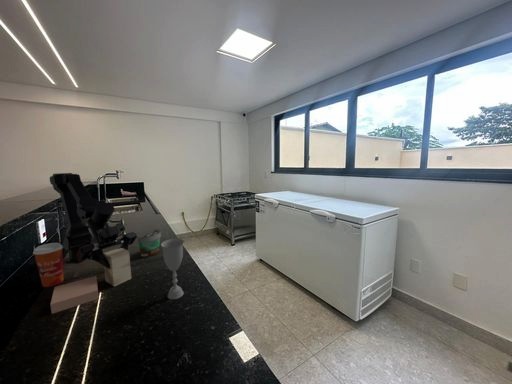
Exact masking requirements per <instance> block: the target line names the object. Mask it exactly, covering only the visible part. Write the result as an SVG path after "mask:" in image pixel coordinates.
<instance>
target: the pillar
mask: <svg viewBox="0 0 512 384" xmlns="http://www.w3.org/2000/svg"><path fill="white" fill-rule="evenodd" d="M103 254H104V256H105V257H106V259H107V261H108V262H109V264H110V268H109V269H108V268H106V267H105V266H103V268H104V277H105V278H104V279H105V282H106V283H107V284H110V286H113V287H116V286H119V285H121V284H122V283H125V282H127V281H129V280H131V279H132V270H131V260H130V259H131V257H130V250H129V249H128V250H125V249H123V248H120V247H118V248H115V249H111V250H109V251H105V252H103Z"/></svg>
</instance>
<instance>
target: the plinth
mask: <svg viewBox="0 0 512 384" xmlns="http://www.w3.org/2000/svg"><path fill="white" fill-rule="evenodd" d="M97 279H98V278H97V275H94V276H91V277H87V278H83V279H79V280H75V281H72V282H68V283H65V284H59V285H55V286H54V287H53V288H54V289H53V292H52V297H51V300H50V311H51V314H57V313H59V312H62V311H65V310H67V309H68V310H69V309H71V308H74V307H77V306H80V305H84V304H87V303H90V302H93V301H96V300H99V288H98V280H97Z"/></svg>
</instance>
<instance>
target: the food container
mask: <svg viewBox="0 0 512 384" xmlns="http://www.w3.org/2000/svg"><path fill="white" fill-rule="evenodd" d="M161 237H162V233H161V231H160V230H159V229H154V231H152V232H150V233H148V234H145V235H144V236H143V237H138V236H137V243H138V245H139V251H140V252H139V253H140V257H141V259H143V258H144V259H145V258H151V257H154V256H155V257H156V256H157V255H159V253H160V252H159V251H160V247H161V246H160V245H161V244H160V242H161V239H160V238H161Z"/></svg>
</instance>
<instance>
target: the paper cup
mask: <svg viewBox="0 0 512 384" xmlns="http://www.w3.org/2000/svg"><path fill="white" fill-rule="evenodd" d="M63 249H64V247H63V244H61V243H60V242H51V243H46V244H41V245H39V246H37V247H35V248H34V249H33V252H32V254H33V255H34V258H35V262H36V266H37V270H38V273H39V279H40V282H41V285H42V287H43V288H51V287H56V286H58V285H60V284H61V283H62V282H64V263H63Z"/></svg>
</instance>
